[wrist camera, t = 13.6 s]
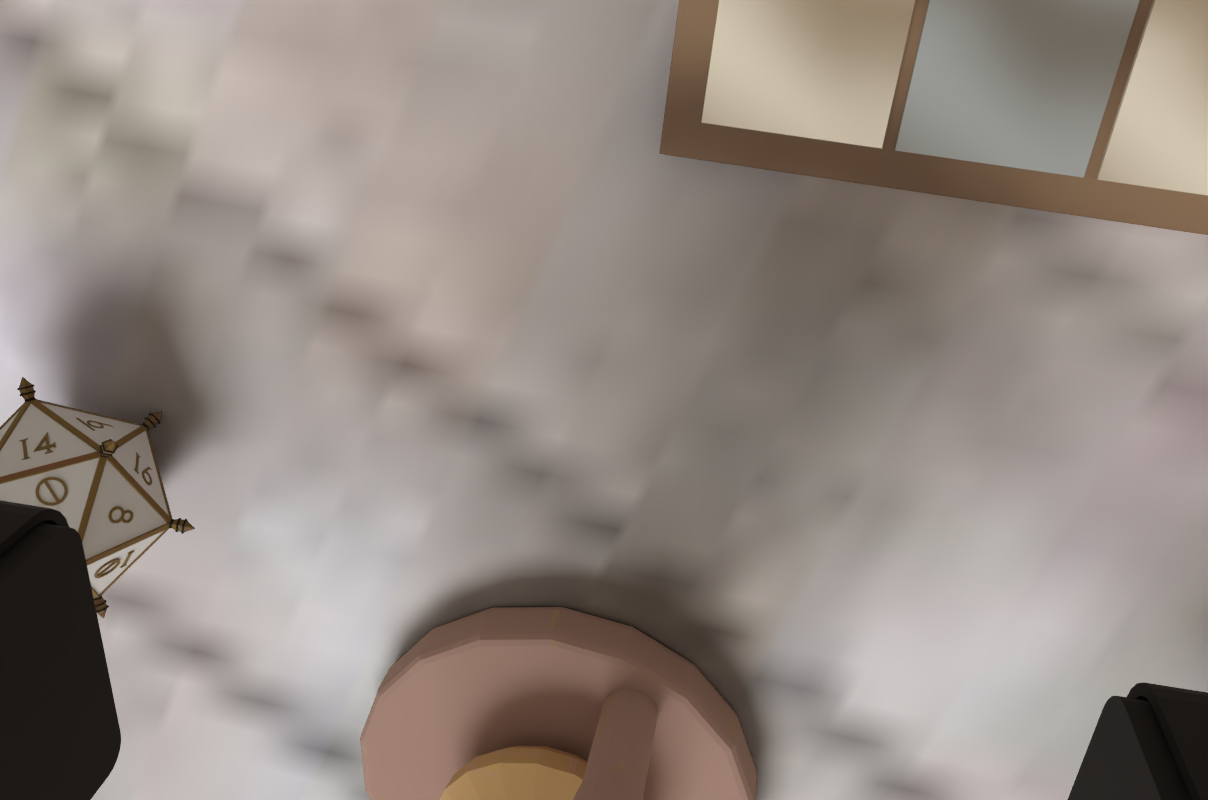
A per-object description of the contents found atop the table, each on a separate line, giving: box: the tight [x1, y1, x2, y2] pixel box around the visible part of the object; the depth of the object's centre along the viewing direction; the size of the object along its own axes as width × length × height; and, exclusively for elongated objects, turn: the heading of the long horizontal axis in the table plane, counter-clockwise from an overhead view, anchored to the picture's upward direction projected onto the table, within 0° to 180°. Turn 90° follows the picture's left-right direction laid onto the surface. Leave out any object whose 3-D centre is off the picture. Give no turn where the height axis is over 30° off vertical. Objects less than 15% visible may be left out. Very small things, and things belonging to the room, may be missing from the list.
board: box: [660, 0, 1208, 235], centre depth 30 cm, size 12×26×1 cm, turn 84°
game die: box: [0, 377, 195, 618], centre depth 40 cm, size 9×8×10 cm
